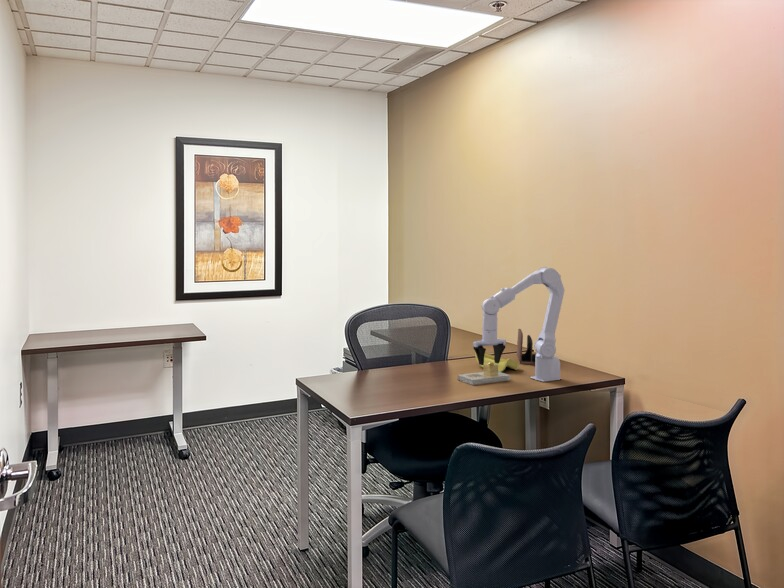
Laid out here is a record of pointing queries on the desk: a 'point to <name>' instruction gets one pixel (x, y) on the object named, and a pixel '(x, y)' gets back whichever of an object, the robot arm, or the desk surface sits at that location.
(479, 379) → the grey stone slab
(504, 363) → the yellow curved piece
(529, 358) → the letter holder
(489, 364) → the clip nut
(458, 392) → the desk surface
